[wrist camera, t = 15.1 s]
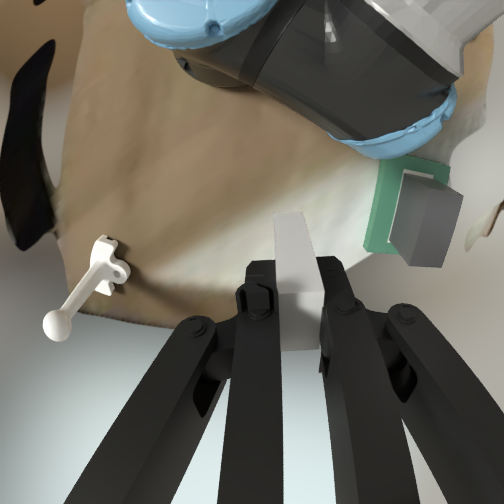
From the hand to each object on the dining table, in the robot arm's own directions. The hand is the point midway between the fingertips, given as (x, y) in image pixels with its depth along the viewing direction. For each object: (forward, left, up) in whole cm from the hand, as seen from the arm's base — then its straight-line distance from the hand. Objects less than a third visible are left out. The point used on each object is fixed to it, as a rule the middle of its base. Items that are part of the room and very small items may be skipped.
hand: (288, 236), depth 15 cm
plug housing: (+5, +23, -26) cm, 34 cm away
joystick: (+20, -27, -28) cm, 44 cm away
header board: (+5, +22, -28) cm, 36 cm away
